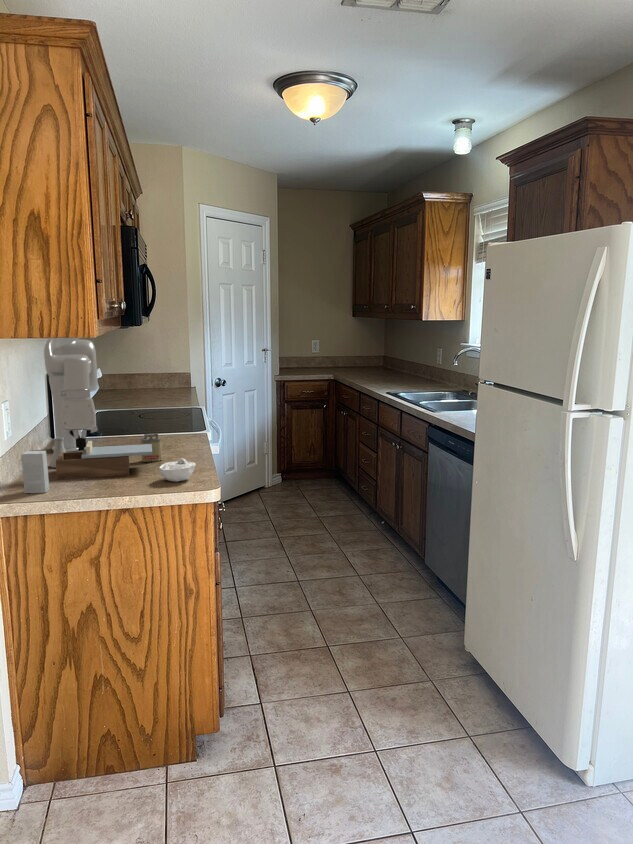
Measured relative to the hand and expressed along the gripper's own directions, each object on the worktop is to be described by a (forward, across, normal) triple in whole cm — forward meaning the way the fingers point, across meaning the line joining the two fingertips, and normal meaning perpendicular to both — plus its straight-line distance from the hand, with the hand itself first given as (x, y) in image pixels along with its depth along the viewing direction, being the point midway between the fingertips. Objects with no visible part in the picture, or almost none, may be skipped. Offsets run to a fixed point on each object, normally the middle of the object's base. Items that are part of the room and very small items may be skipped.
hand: (81, 449), depth 205 cm
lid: (+2, +12, 0) cm, 12 cm away
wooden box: (+8, +4, 0) cm, 9 cm away
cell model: (+8, +30, -18) cm, 36 cm away
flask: (+8, -8, +12) cm, 17 cm away
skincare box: (+8, -11, -20) cm, 24 cm away
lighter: (+8, +22, +12) cm, 27 cm away
